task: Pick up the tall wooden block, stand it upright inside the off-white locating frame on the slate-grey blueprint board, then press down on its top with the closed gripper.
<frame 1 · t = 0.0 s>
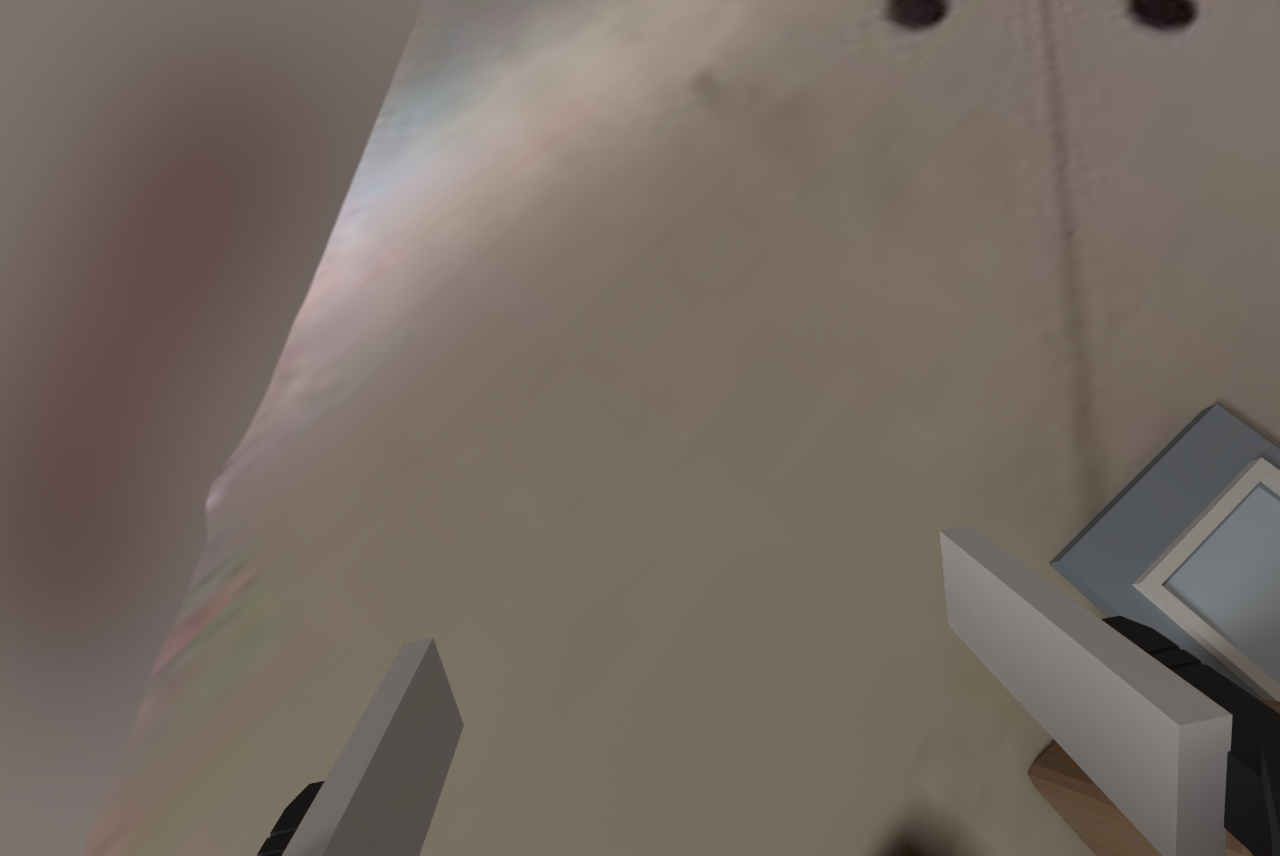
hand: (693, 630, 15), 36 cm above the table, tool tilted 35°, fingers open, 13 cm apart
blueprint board: (1269, 598, 46), on the table
wooden block: (1120, 786, 43), on the table
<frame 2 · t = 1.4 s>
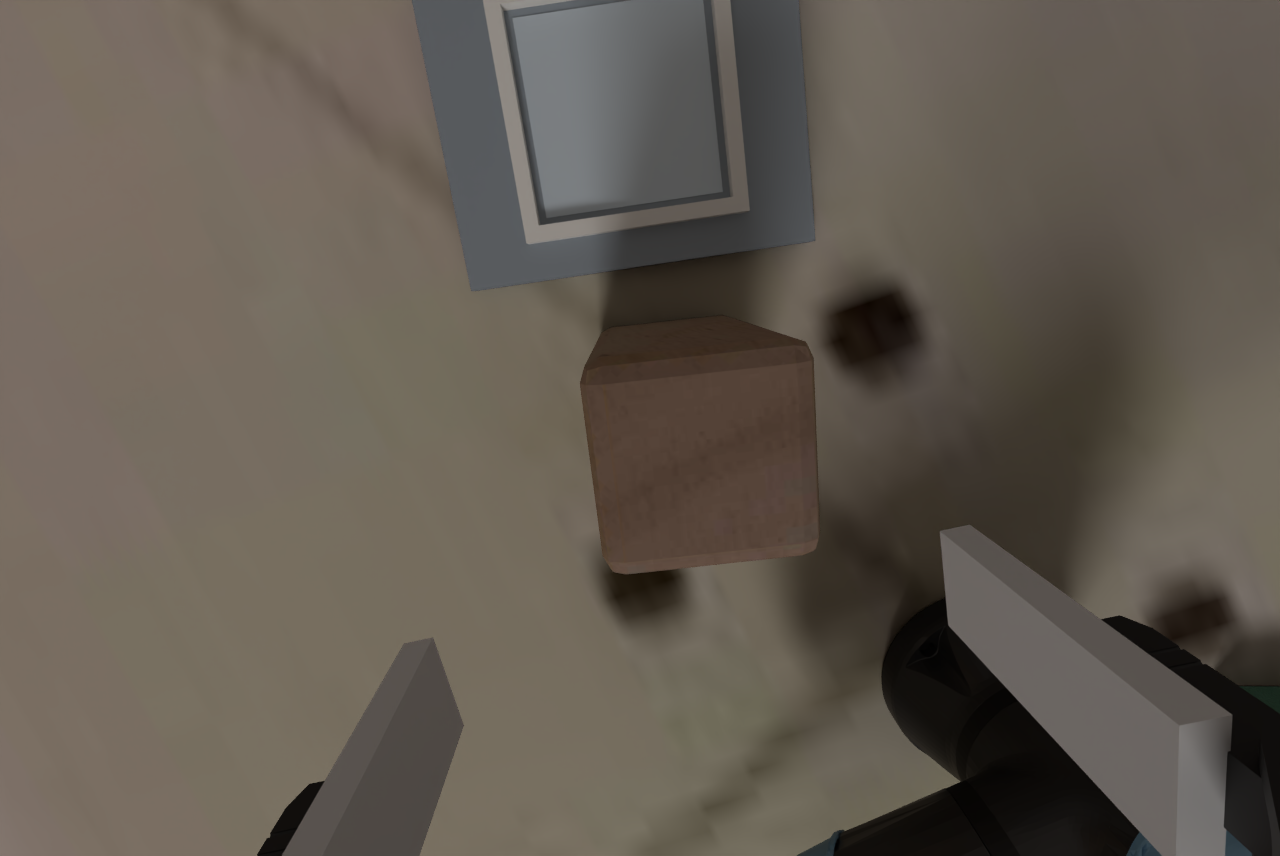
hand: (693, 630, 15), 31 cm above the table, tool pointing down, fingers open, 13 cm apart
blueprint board: (621, 114, 40), on the table
wooden block: (671, 387, 45), on the table
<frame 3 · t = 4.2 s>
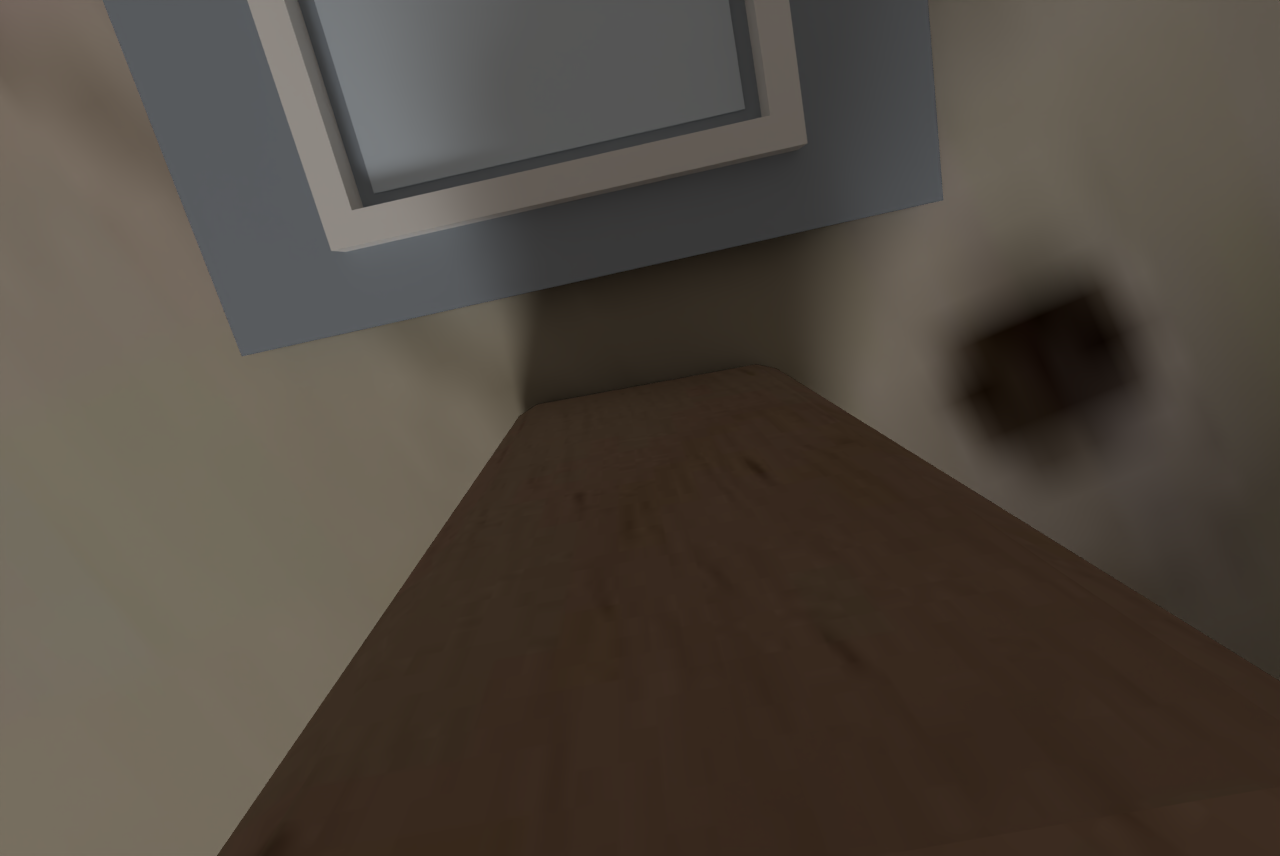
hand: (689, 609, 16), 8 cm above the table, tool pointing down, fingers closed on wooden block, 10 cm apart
wooden block: (666, 500, 24), on the table, touching gripper
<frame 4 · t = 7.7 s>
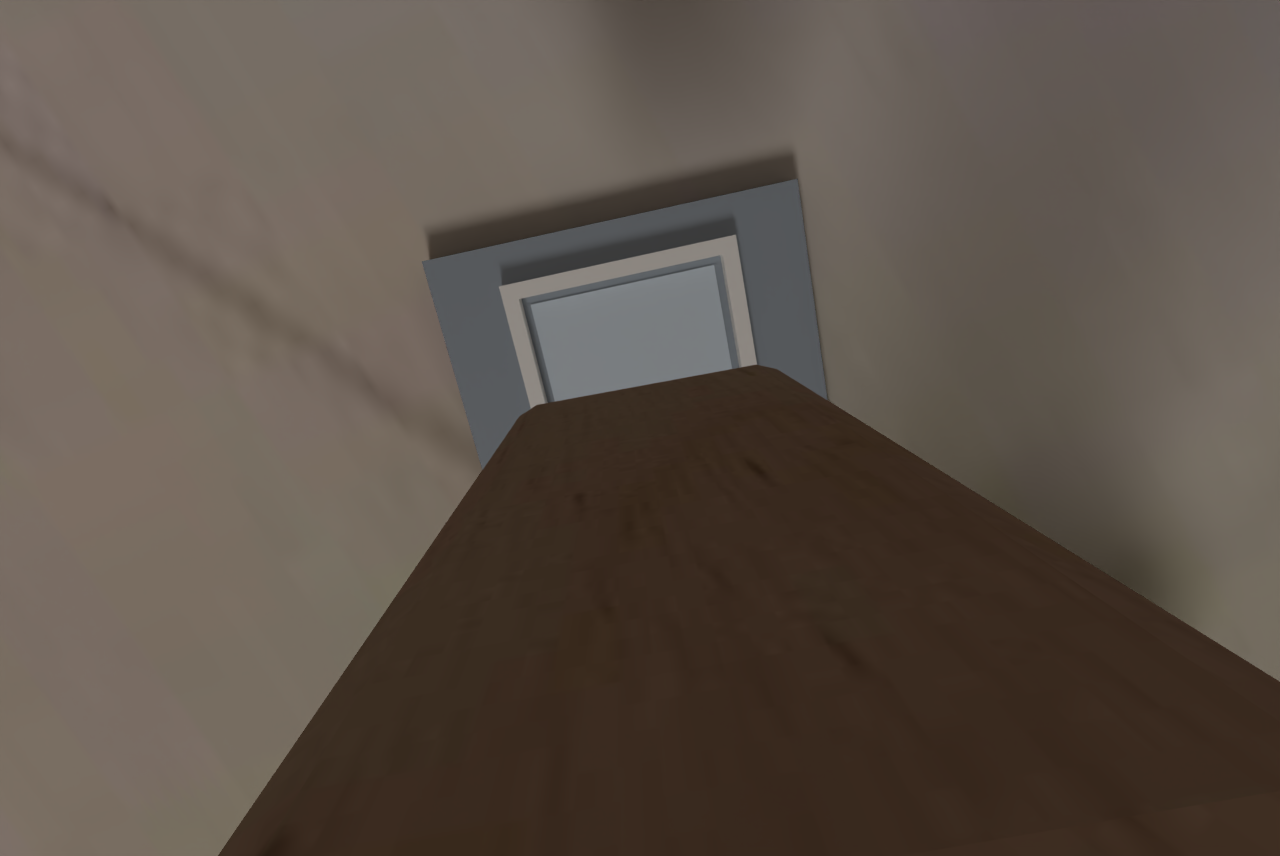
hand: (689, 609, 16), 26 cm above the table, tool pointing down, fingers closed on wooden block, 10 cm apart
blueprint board: (640, 372, 41), on the table
wooden block: (666, 500, 24), point 18 cm above the table, touching gripper
when the fingers open (10 cm above the table, at t = 11.5 s): wooden block stays where it is, resting on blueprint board.
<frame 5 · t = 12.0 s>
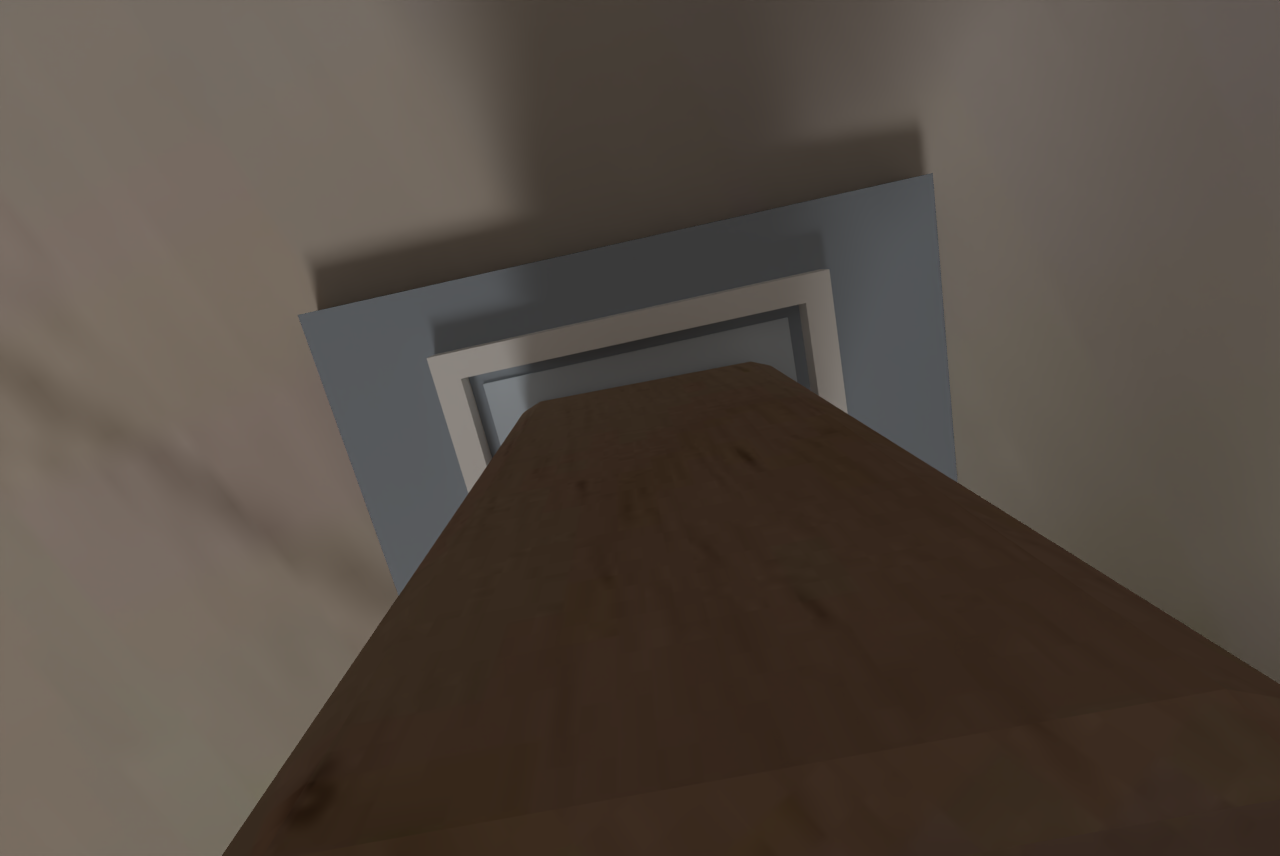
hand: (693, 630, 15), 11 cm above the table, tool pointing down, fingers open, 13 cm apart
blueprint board: (662, 480, 26), on the table
wooden block: (665, 493, 25), point 1 cm above the table, touching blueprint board
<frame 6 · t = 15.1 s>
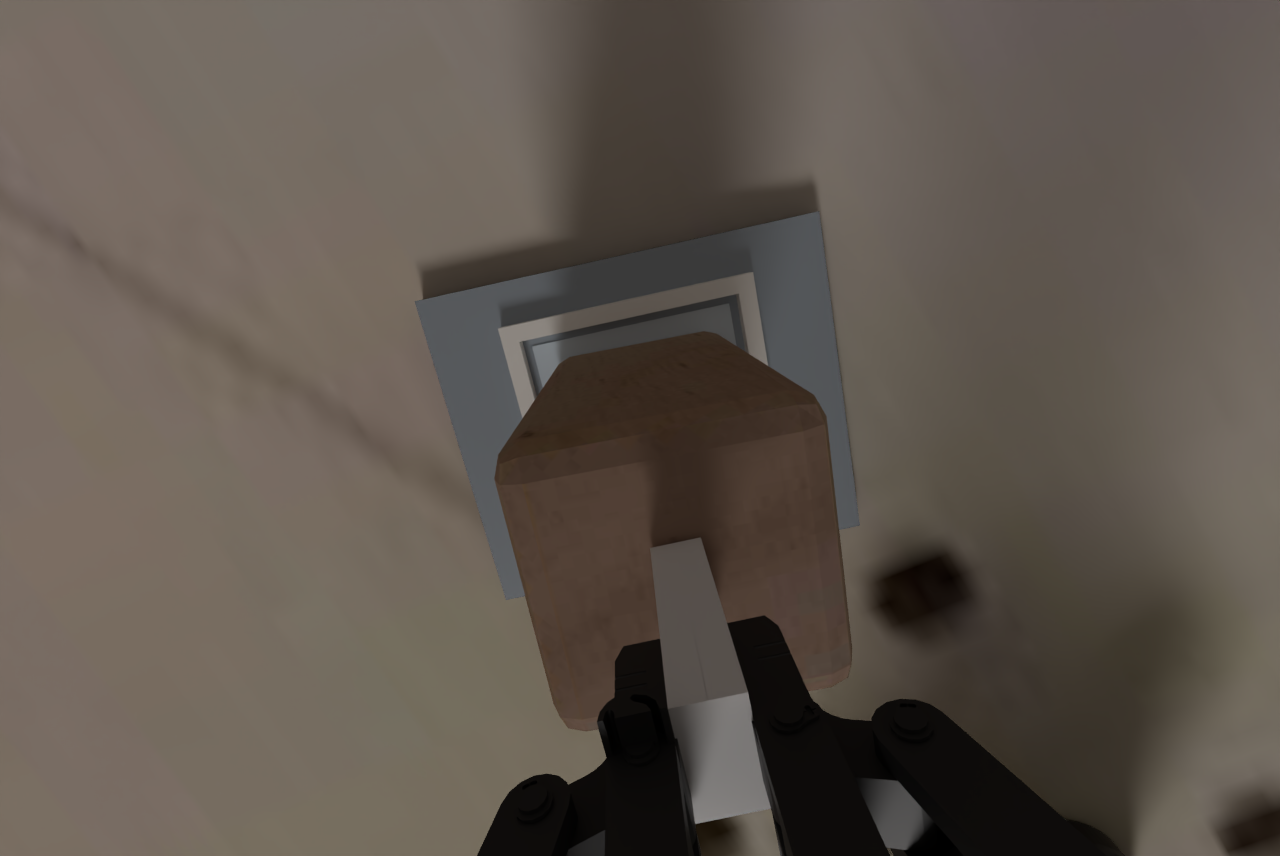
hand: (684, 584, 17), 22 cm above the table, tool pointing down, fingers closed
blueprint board: (649, 414, 39), on the table
wooden block: (651, 420, 37), point 1 cm above the table, touching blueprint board, gripper
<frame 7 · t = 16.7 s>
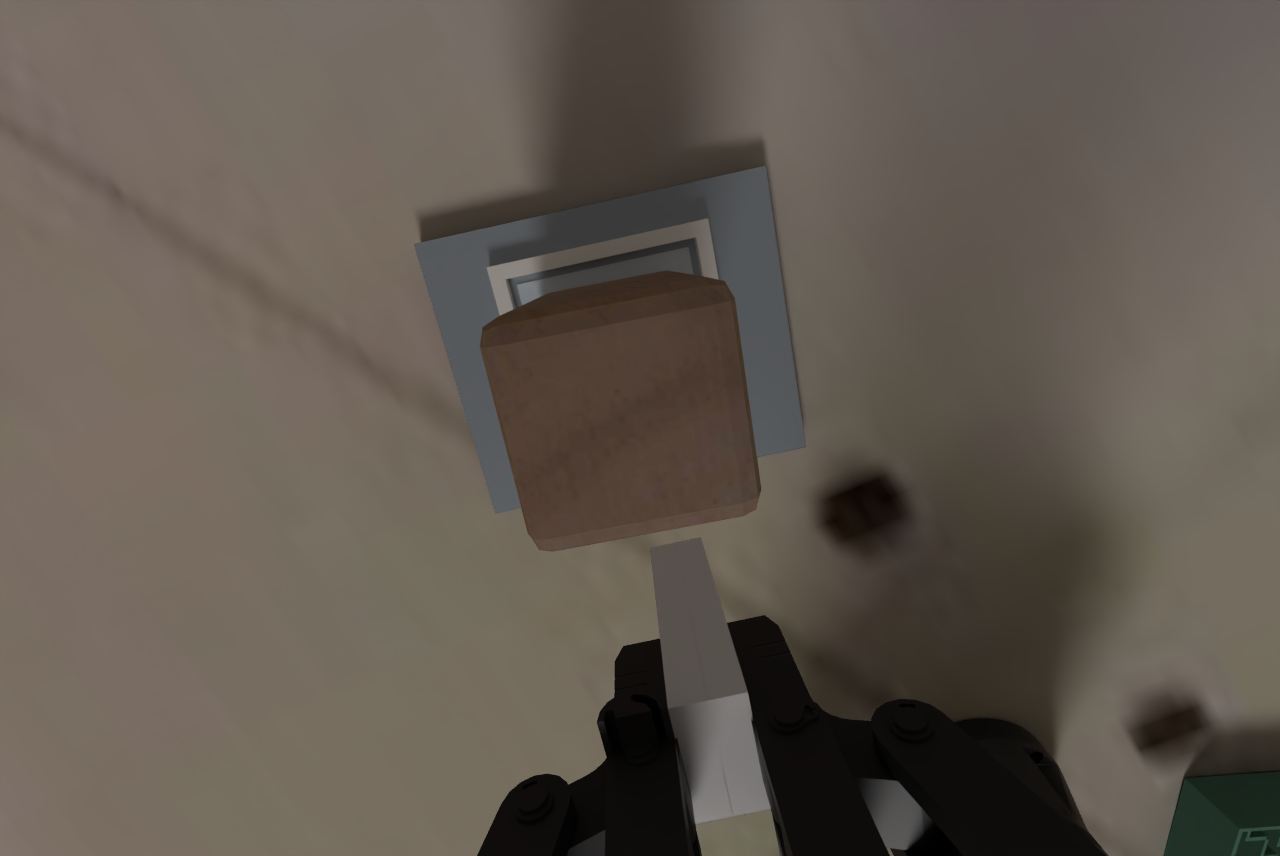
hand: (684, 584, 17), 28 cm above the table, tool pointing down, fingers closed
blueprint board: (621, 348, 44), on the table
wooden block: (621, 352, 43), point 1 cm above the table, touching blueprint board
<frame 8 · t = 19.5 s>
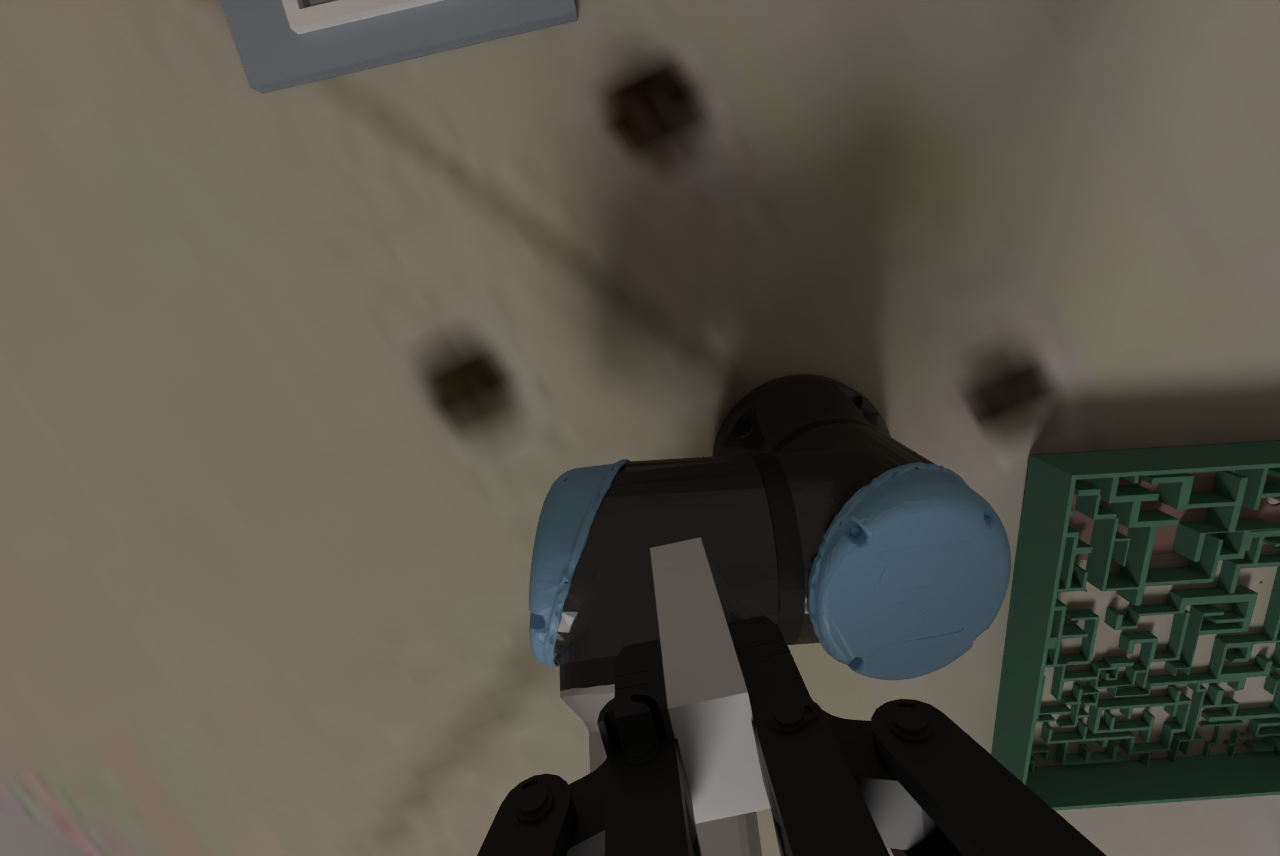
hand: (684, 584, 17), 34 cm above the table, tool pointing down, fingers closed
maze: (1176, 611, 59), on the table
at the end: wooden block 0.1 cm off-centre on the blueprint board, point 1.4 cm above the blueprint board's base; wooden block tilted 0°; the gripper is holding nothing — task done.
